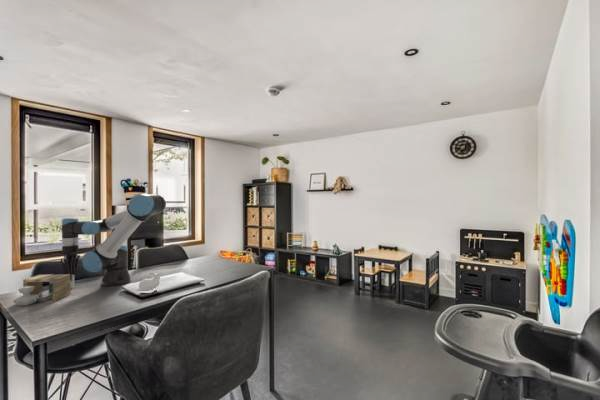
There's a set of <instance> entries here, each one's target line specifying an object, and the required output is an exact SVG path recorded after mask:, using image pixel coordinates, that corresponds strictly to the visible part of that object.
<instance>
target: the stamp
mask: <svg viewBox="0 0 600 400" xmlns="http://www.w3.org/2000/svg"><path fill="white" fill-rule="evenodd" d="M33 289H34V286H26V287H20V288H18V292H19V294H22V296H19V297H16V298H15V299H14V300H13V303H14V304H15V305H17V306H29V305H32V304H34V303H36V302H35V301H36V300H37V299H38V298H39V296H38V295H30V292H31V291H33Z"/></svg>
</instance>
